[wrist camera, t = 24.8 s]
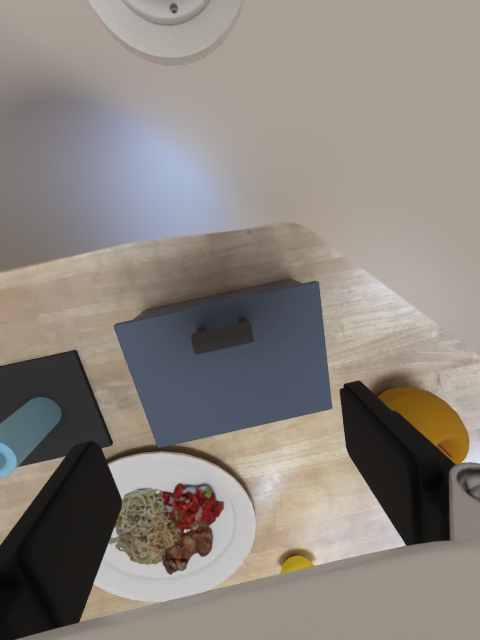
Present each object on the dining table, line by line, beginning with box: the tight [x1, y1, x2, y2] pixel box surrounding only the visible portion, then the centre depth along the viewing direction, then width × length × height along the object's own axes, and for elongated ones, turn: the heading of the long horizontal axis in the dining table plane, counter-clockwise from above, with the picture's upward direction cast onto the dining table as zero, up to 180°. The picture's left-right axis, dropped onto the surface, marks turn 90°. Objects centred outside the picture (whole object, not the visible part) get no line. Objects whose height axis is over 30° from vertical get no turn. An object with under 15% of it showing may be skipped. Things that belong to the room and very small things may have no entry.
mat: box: [0, 350, 112, 467], centre depth 37 cm, size 15×14×1 cm
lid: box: [114, 281, 332, 448], centre depth 26 cm, size 14×20×5 cm
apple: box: [378, 387, 469, 465], centre depth 36 cm, size 10×10×12 cm
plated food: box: [93, 451, 256, 602], centre depth 42 cm, size 30×30×3 cm
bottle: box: [0, 397, 62, 478], centre depth 32 cm, size 5×5×11 cm
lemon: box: [280, 555, 314, 574], centre depth 46 cm, size 7×5×5 cm
